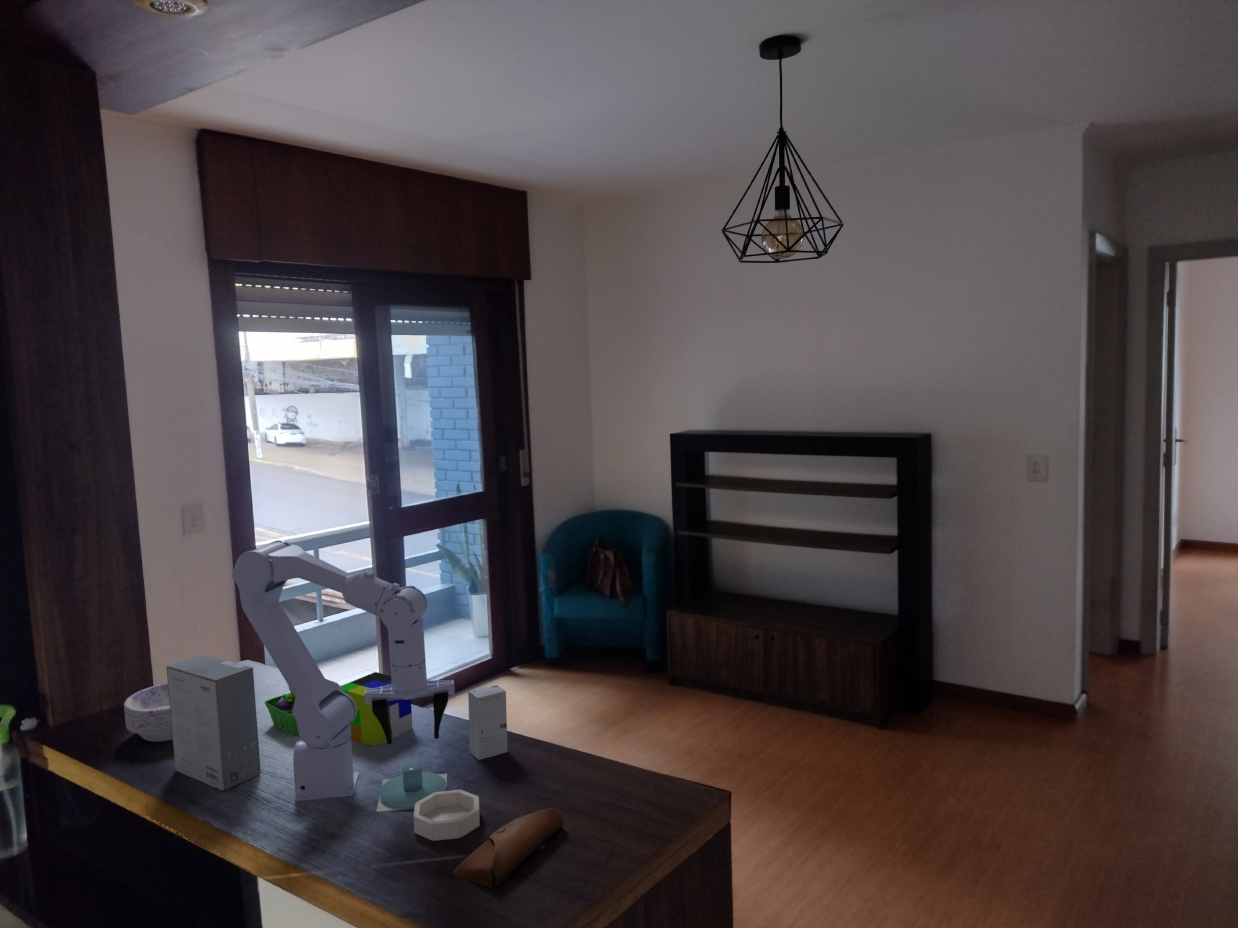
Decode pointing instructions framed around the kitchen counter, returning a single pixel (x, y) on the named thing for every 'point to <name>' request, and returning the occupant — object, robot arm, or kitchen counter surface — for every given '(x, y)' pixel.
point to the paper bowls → (150, 713)
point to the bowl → (446, 815)
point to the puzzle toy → (365, 721)
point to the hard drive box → (214, 720)
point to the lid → (411, 787)
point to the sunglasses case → (509, 847)
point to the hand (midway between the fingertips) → (413, 738)
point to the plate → (383, 807)
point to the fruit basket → (283, 712)
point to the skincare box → (487, 721)
